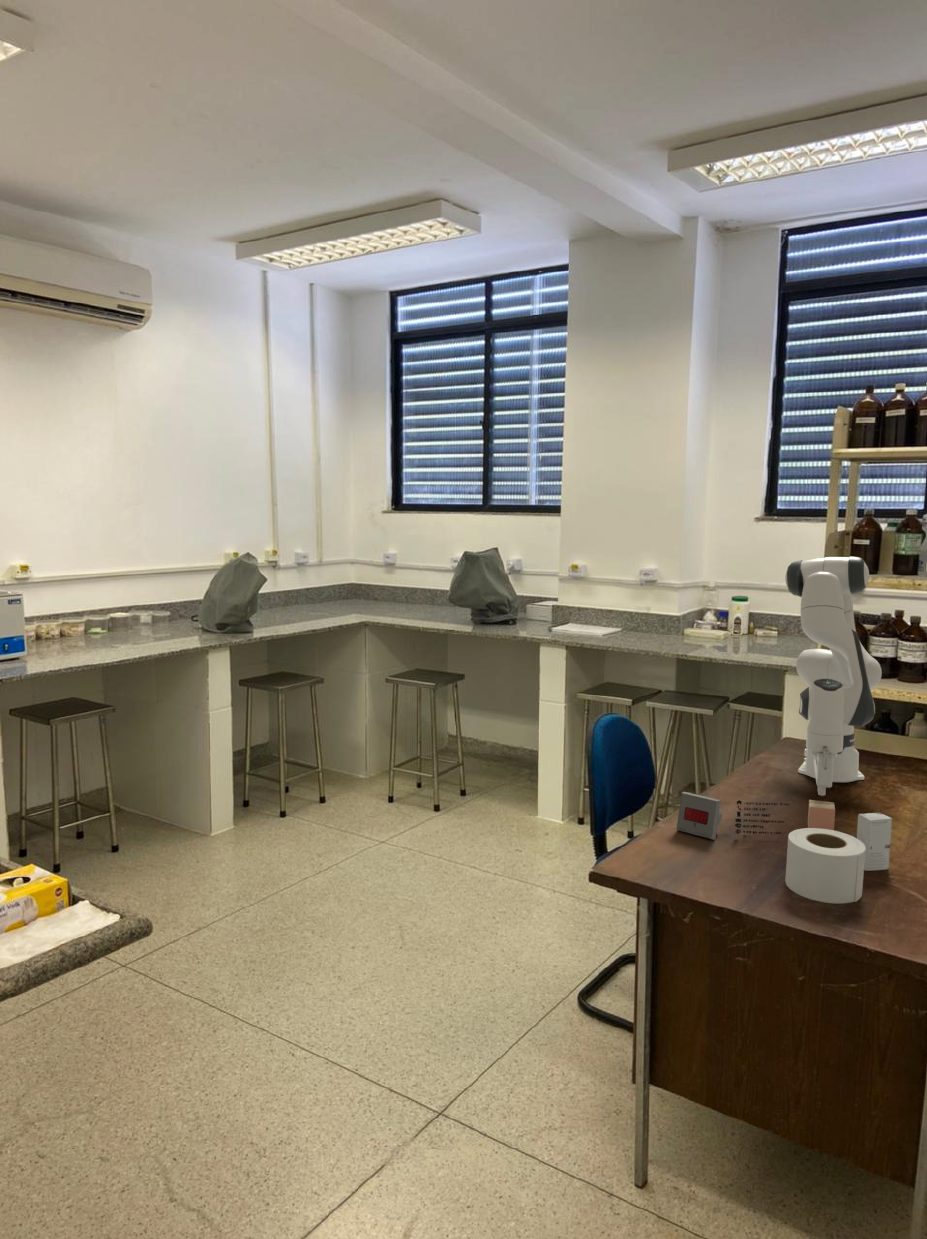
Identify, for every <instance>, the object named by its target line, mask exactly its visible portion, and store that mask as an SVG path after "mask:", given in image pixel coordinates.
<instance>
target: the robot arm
mask: <svg viewBox="0 0 927 1239" xmlns="http://www.w3.org/2000/svg"><path fill="white" fill-rule="evenodd" d="M869 578H870V571H869V567H868V565H867V564H866V561H865V560H864V559H863V558H861V557H859V556H850V555H849V556H847V557H846V556H827V557H821V558H820V557H819V558H812V559H807V560H803V559H801V560H800V559H799V560H797V561H793V562H791V563H790V565H788V566H787V570H786V572H785V579H784V581H785V584H786V588H788V592H789V593H790V594H792V595H793V596H797V597H800V598H801V599H800V625H801V629H802V631H803V633H804V634H805V635H806V637H807V638H809V639H810V640H811V641H813V642H814V643H817V644H818V645H821V646H823V647H825V648H828V649H825V648H810V649H804V650H803V651H802V652H800V653H799V655H798V657H797V659H796V663H795V670H796V672H797V674H798V676H799V678H801V679H802V681H803V682H805V684H806V685H807V688H805V689H804V690H802V691H801V693H799V695H800V696H799V697H800V700H799V701H800V702H799V708H798V709H799V710H798V714H799V715H800V716H801V717H802V718H804V720H806V721H808V725H807V728H806V737H805V738H806V741H805V747H806V748H805V749H804V752H803V753H804V757H805V758H804V760H803V763H801V765H800V766H799V768H798V769H797V770H798V771H797V773H799V774H802V775H805V776H808V777H810V778H813V779H815V782H816V786H817V795H819V796H821V797H824V796H826V792H827V791H826V790H827V788H829V789H830V788H832V787H833V783H850V782H855V781H863V780H865V775H864V774H863V773H862V772H861V771H860V770H859V765H860V764H859V760H860V758H859V757H860V753H859V751H858V750H857V749H856V748H855V746H854V745H855V741H856V736H855V733H854V727H858V728H862V727H864V726H866V725H867V724H870V722H871V721H872V720H874V718H875V714H876V705H875V701H874V698H873V694H872V690H874V689H875V688H876V687H877V686H878V685H879V684H880V682H881V679H882V675H883V674H882V673H883V672H882V667H881V664H880V663H879V662H878V660H877V659H875V658H874V657H873V656H872V655H871V654H869V653H868V651H867V650H866V649H865V646H863V645H862V643H861V640H860V638H859V634H858V633H857V629H856V622H855V615H854V603H853V602H854V601H853V597H852V595H855V594H858V593H861V592H863V591H864V590H865V589H866V588H867V584H868V583H869V580H870V579H869Z"/></svg>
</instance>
